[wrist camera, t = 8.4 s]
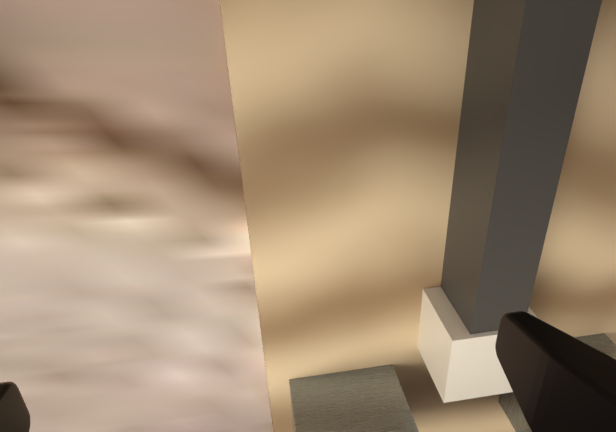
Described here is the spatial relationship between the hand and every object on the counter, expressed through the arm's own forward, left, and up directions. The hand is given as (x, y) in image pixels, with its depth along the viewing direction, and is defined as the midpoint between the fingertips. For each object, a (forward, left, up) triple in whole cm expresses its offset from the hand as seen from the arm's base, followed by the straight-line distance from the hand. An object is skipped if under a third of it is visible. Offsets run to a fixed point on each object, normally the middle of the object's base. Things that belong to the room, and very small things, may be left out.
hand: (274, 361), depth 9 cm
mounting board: (-4, -11, -11) cm, 16 cm away
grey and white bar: (+2, -9, -9) cm, 13 cm away
